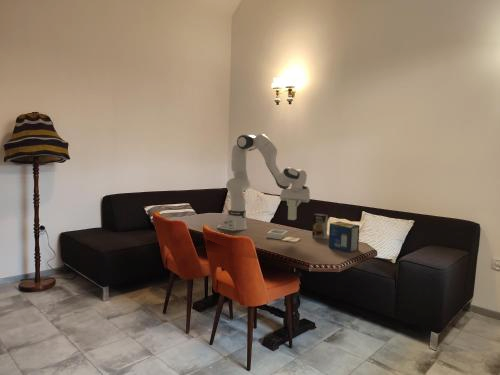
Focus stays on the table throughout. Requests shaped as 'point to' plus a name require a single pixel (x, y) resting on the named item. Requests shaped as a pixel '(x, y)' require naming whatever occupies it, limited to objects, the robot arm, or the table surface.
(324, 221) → the coffee box
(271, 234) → the bin
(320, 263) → the table surface
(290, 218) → the green block
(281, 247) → the table surface
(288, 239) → the pad
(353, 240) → the protein box
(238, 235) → the table surface
